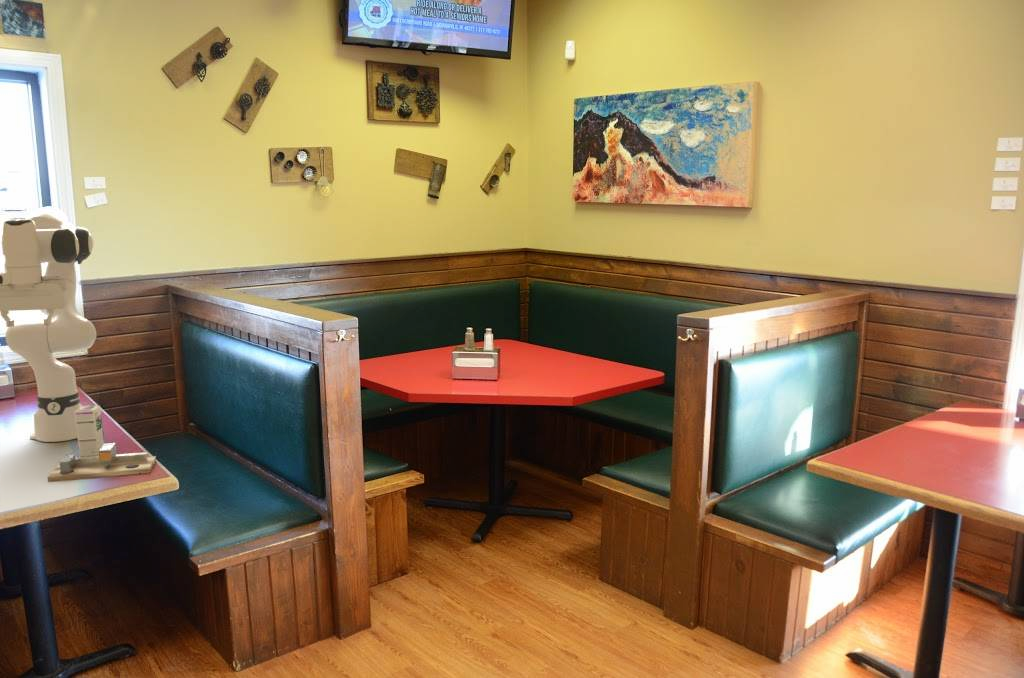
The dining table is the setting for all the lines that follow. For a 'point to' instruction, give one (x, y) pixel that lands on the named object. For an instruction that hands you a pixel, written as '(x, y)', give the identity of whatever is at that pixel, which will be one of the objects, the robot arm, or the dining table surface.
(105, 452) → the block
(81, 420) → the syrup box
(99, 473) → the hole board
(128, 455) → the trammel bar
